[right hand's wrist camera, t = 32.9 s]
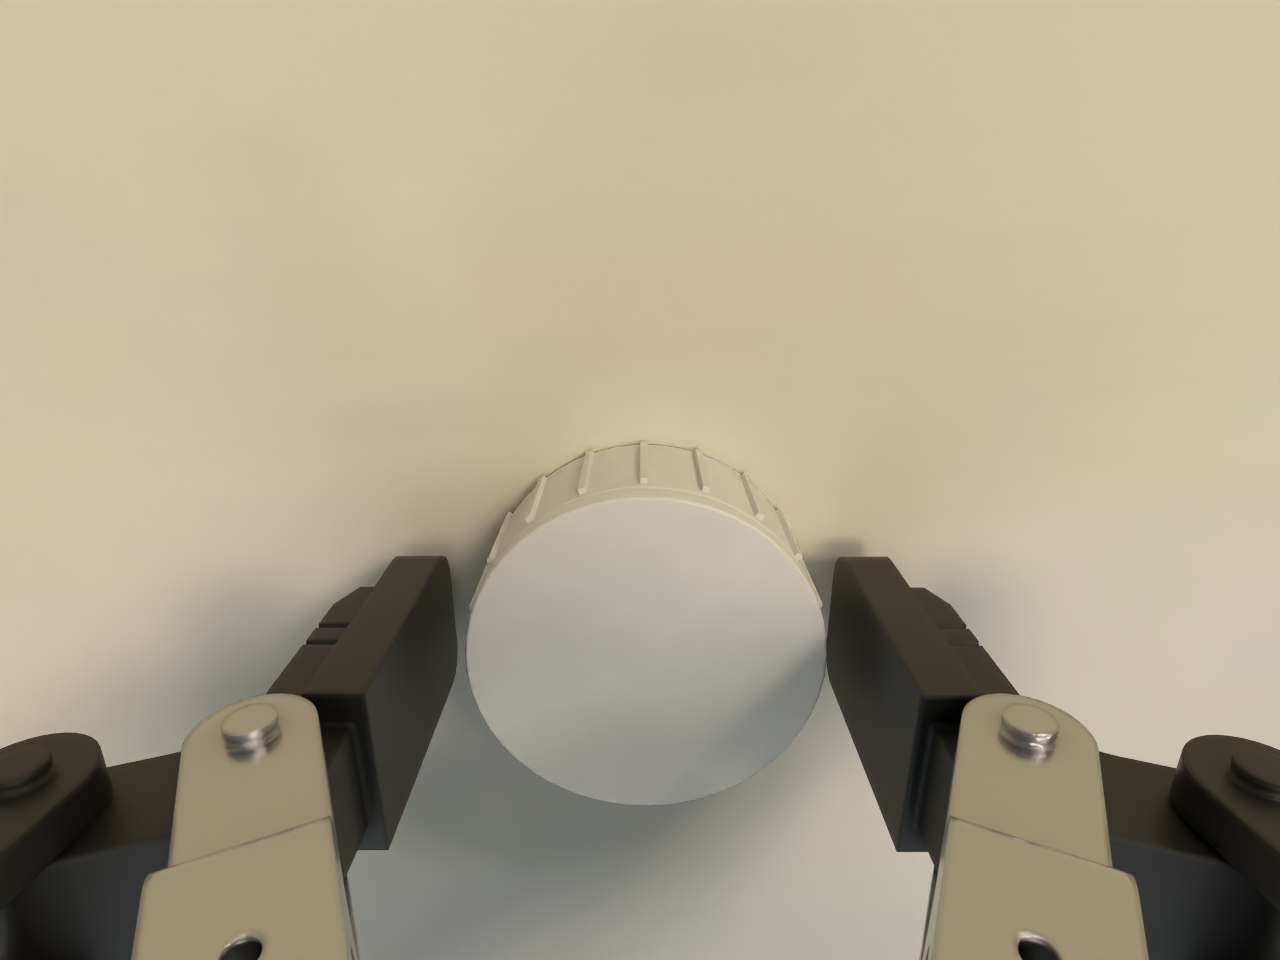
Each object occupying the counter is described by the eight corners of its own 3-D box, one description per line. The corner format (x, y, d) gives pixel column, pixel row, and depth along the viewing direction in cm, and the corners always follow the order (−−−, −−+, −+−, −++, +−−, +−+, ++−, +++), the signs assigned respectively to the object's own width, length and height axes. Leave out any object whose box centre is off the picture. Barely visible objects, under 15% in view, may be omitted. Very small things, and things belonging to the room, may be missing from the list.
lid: (865, 576, 12) (911, 652, 10) (655, 762, 14) (658, 864, 12) (633, 371, 11) (632, 411, 9) (428, 597, 12) (385, 677, 10)
